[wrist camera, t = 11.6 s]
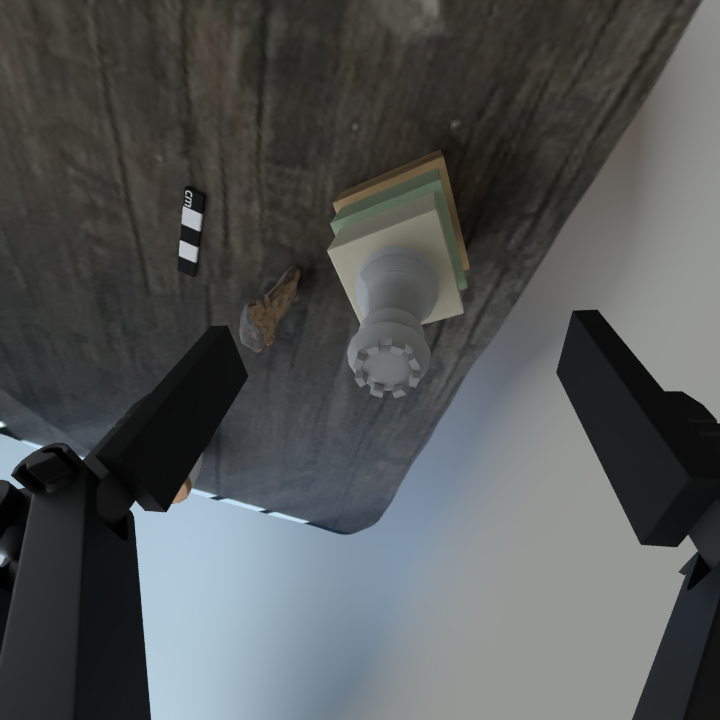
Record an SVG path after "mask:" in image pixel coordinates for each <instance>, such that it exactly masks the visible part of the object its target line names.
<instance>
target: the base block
mask: <svg viewBox="0 0 720 720" xmlns="http://www.w3.org/2000/svg"><path fill="white" fill-rule="evenodd" d="M436 168H438V170H439V174H440V177H441V181H442V185H443V190H444V194H445V198H446V202H447V206H448V210H449V214H450V218H451V222H452V226H453V230H454V234H455V238H456V242H457V246H458V250H459V254H460V259H461V263H462V267H463V271H465V270H469V269H470V266H469V262H468V258H467V253H466V249H465V245H464V241H463V236H462V232H461V228H460V223H459V219H458V215H457V211H456V206H455V202H454V198H453V194H452V189H451V185H450V181H449V177H448V172H447V168H446V164H445V160H444V156H443V154H442V151H441V149H439V150H437V151H435V152H432V153H430V154H428V155H425V156H423V157H421V158H418V159H416V160H414V161H411V162H409V163H407V164H404V165H402V166H400V167H397V168H395V169H393V170H391V171H388V172H386V173H384V174H381V175H379V176H377V177H374V178H372V179H370V180H367V181H365V182H363V183H360V184H358V185H356V186H353V187H351V188H349V189H346V190H344V191H342V193H341V194H340V195H339V196H338V197H337V198H336V200H335V201H334V202H333V206H334V208H335V211H336V213H338V212H339V211H340V209H341V208H342V207H344V206H346V205H349V204H351V203H354V202H356V201H358V200H361V199H363V198H366V197H368V196H371V195H373V194H375V193H378V192H380V191H383V190H385V189H387V188H390V187H392V186H395V185H397V184H400V183H402V182H404V181H407V180H409V179H412V178H414V177H416V176H419V175H421V174H424V173H426V172H429V171H431V170H433V169H436Z"/></svg>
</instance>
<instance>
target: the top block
mask: <svg viewBox="0 0 720 720" xmlns="http://www.w3.org/2000/svg"><path fill="white" fill-rule="evenodd" d="M391 246H406V247H409V248H412V249H415V250H418V251H420V252H422V253H423V254H424V255H425V256H426V257H427V258H428V259H429V260H430V261H431V262H432V263H433V265H434V267H435V269H436V272H437V274H438V276H439V289H438V300H437V302H436V304H435V306H434V308H433V310H432V312H431V314H430V316H429V317H428V318H427V319H426V320H424V321H423V322H422V323H421V325H422V324H426V323H430V322H433V321H437V320H441V319H445V318H448V317H452V316H456V315H459V314H463V313H464V309H463V304H462V299H461V294H460V289H459V284H458V280H457V276H456V273H455V269H454V265H453V261H452V257H451V253H450V250H449V246H448V242H447V238H446V234H445V230H444V226H443V223H442V219H441V215H440V211H439V207H438V203H437V200H436V196H435V193H434V192H432V193H430V194H427V195H424V196H422V197H419V198H417V199H414V200H412V201H409V202H407V203H404V204H401V205H399V206H396V207H394V208H391V209H389V210H386V211H384V212H381V213H379V214H376V215H373V216H371V217H368V218H366V219H363V220H361V221H358V222H356V223H353V224H350V225H348V226H345V227H343V228H341V229H340V230H339V232H338V234H337V235H336V237H335V239H334V240H333V242H332V243H331V245H330V247H329V248H328V250H327V251H328V253H329V256H330V258H331V260H332V262H333V264H334V267H335V269H336V271H337V273H338V275H339V278H340V280H341V282H342V284H343V286H344V289H345V291H346V293H347V295H348V297H349V300H350V302H351V304H352V306H353V308H354V310H355V313H356V315H357V317H358V319H359V321H360V324H361V323H362V321H363V320H364V319H365V316H364V315H363V313H362V311H361V310H360V308H359V306H358V304H357V297H356V289H355V287H356V284H357V277H358V274H359V271H360V268H361V266H362V264H363V263H364V262H365V261H366V260H367V259H368V258H369V256H370V255H371V254H373V253H375V252H377V251H379V250H381V249H383V248H385V247H391Z"/></svg>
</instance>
